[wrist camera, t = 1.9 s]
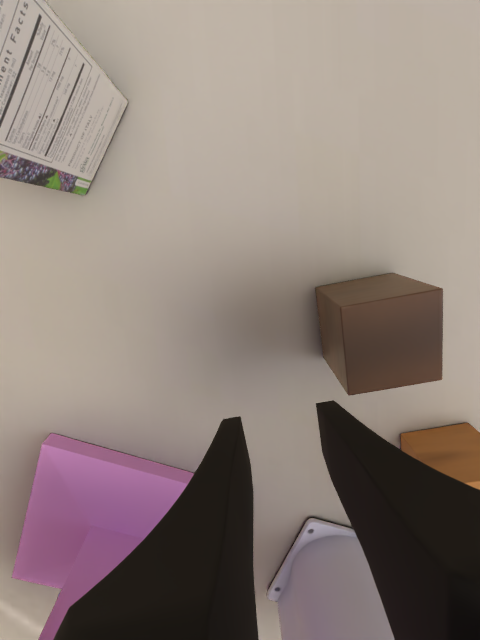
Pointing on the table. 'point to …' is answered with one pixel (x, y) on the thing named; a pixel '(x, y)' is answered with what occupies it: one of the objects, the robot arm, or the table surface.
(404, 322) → the walnut block
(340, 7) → the table surface
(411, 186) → the table surface
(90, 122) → the syrup box
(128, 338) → the table surface
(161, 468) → the purple pedestal chair
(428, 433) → the oak block
